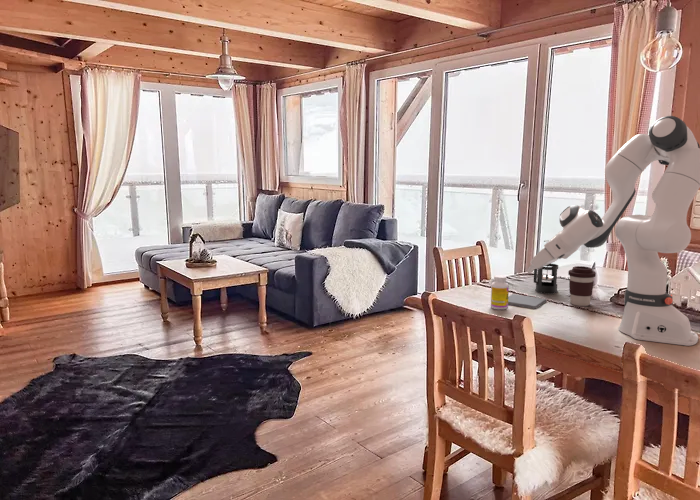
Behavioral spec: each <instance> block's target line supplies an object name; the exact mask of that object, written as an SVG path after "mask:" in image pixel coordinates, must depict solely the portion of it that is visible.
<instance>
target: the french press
mask: <svg viewBox="0 0 700 500" xmlns="http://www.w3.org/2000/svg"><path fill="white" fill-rule="evenodd" d="M549 240H550V239H547V240H546V239H545V240H543V242H545V243H547V242H549ZM558 270H559V265H558V264H556V263H550V264H548V265H545V266H544V267H542V268H541V269H535V270H534V271H533V283H534V284H535V289H534V291H535V292H536V293H537V294H538V293H539V294H545V295H546V294H547V295H554V294H558V292H559V291H558V284H557V279H558ZM543 271H546V274H543ZM548 271H551V275H549V273H548ZM550 281H551V282H550Z"/></svg>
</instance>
